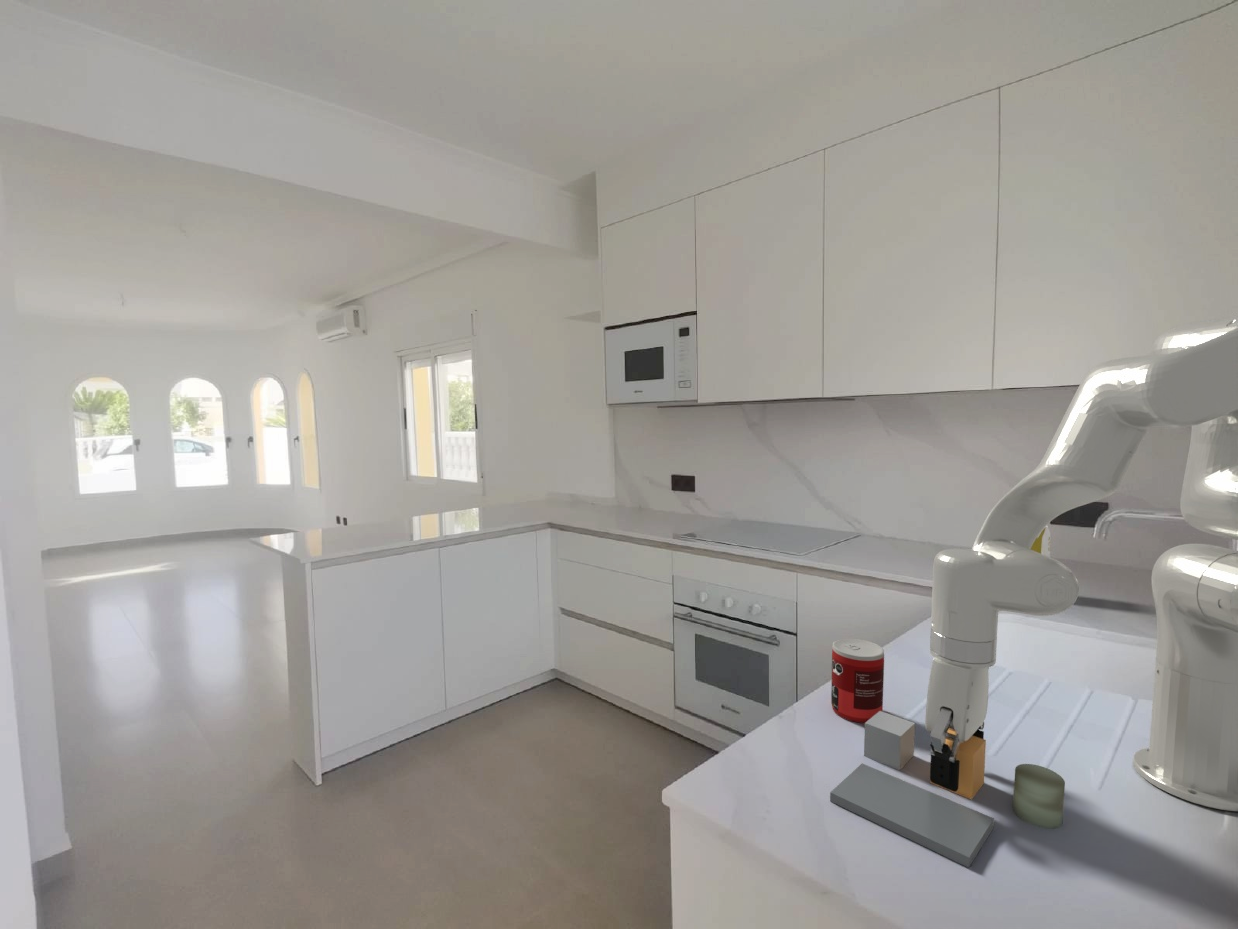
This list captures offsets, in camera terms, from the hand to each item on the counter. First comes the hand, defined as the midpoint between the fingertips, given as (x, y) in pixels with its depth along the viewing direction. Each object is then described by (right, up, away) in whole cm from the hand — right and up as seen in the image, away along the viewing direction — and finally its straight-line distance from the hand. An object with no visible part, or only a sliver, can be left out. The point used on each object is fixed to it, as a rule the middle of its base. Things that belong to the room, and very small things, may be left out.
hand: (956, 770), depth 82 cm
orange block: (0, -2, 0) cm, 2 cm away
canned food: (-6, 0, +19) cm, 20 cm away
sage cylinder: (+6, -2, -6) cm, 9 cm away
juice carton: (+62, +6, +79) cm, 101 cm away
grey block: (-6, -1, +7) cm, 9 cm away
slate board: (-9, -2, -6) cm, 11 cm away
